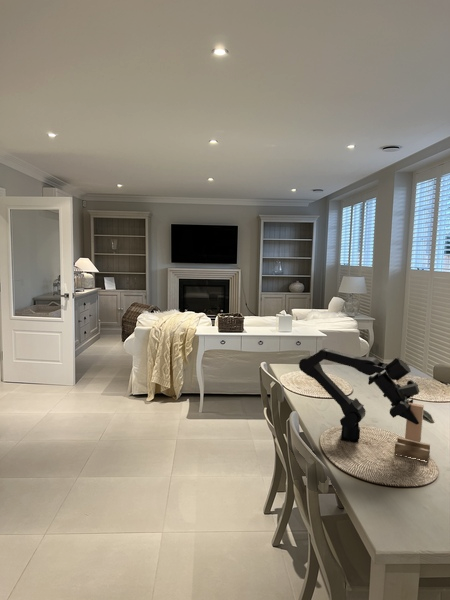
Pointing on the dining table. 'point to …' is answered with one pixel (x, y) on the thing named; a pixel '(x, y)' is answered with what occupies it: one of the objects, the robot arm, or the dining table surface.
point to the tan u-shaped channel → (412, 449)
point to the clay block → (412, 429)
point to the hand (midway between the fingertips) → (418, 422)
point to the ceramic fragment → (428, 416)
